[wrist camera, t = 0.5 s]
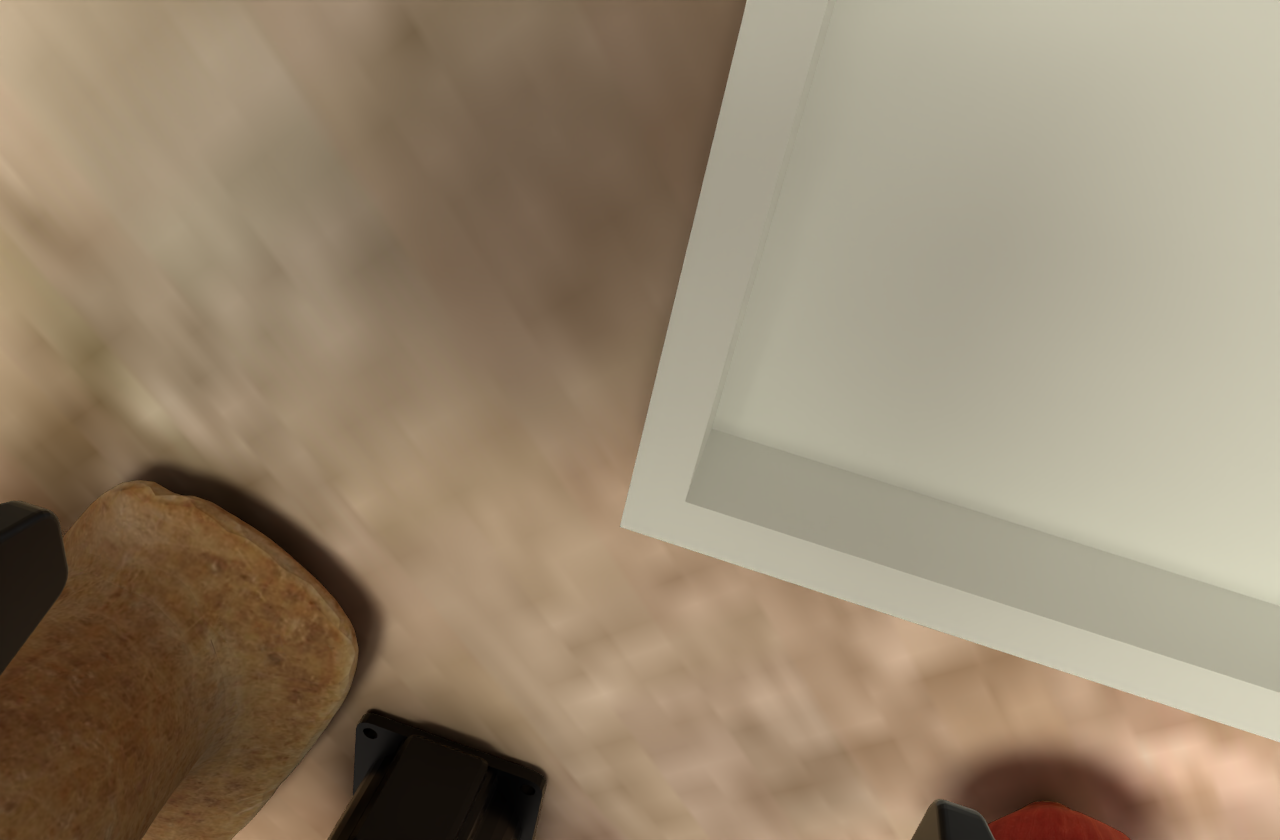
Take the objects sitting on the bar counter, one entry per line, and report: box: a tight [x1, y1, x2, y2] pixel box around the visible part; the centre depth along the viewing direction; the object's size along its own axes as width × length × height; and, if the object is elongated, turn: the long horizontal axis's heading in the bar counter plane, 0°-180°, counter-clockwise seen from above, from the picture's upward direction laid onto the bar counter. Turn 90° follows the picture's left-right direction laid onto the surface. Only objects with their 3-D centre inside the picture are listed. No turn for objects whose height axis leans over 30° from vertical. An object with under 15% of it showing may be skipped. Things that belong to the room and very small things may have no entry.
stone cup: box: [0, 480, 359, 840], centre depth 27 cm, size 15×12×15 cm
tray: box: [620, 0, 1280, 742], centre depth 17 cm, size 18×18×4 cm
